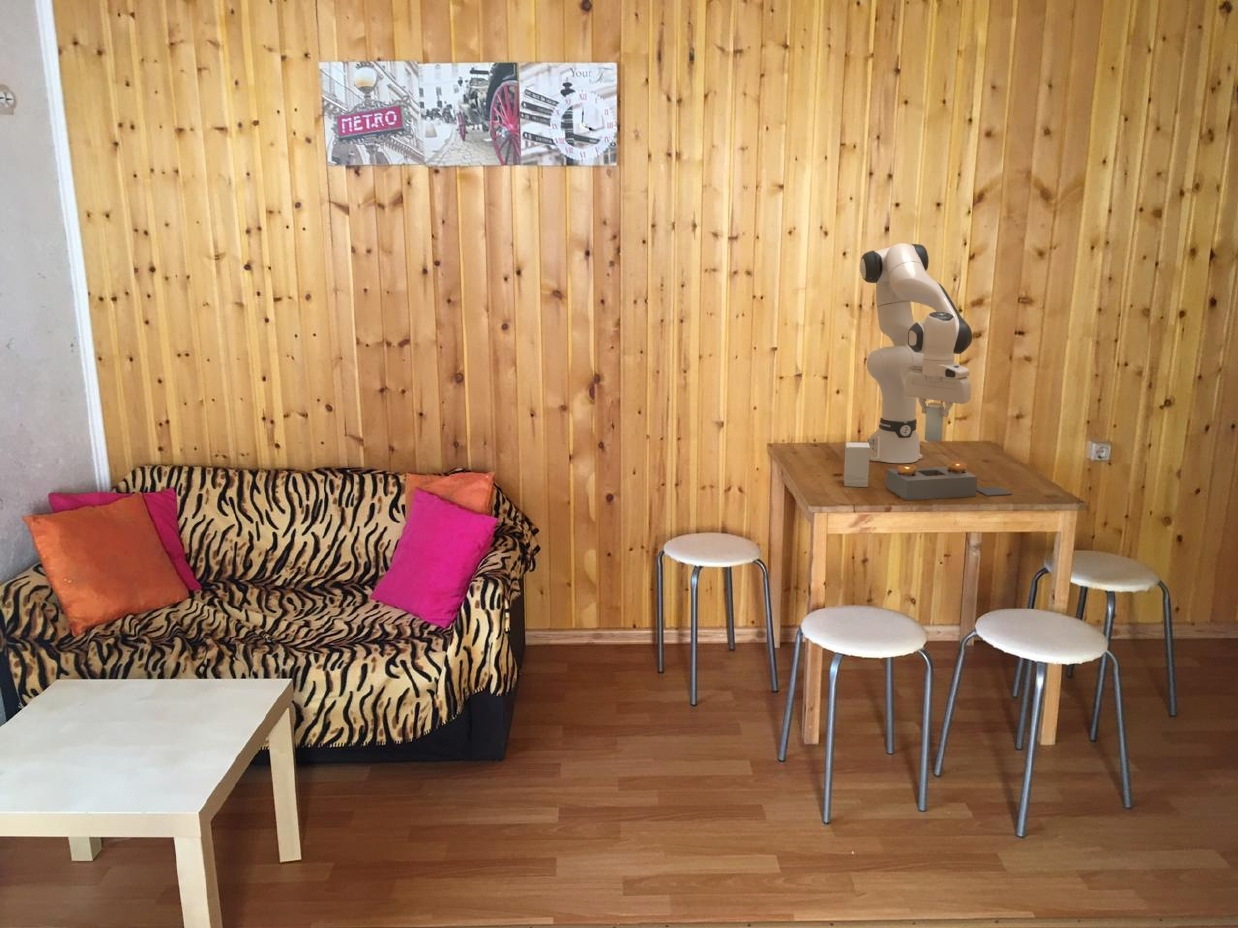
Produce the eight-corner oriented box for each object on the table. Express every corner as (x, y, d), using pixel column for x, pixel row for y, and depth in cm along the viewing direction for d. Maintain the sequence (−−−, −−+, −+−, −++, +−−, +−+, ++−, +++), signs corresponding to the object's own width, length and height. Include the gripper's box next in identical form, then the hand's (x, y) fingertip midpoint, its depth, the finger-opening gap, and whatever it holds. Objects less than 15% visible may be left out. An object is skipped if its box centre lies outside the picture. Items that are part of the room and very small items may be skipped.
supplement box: (868, 487, 312) (870, 447, 309) (843, 486, 313) (845, 446, 310) (867, 481, 319) (869, 442, 316) (843, 480, 320) (845, 441, 317)
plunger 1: (893, 488, 306) (895, 464, 304) (910, 487, 307) (911, 463, 305) (901, 493, 301) (902, 468, 299) (917, 492, 302) (919, 467, 300)
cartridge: (921, 440, 302) (923, 403, 299) (930, 437, 305) (932, 401, 302) (936, 442, 298) (938, 406, 295) (945, 440, 301) (947, 403, 299)
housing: (886, 488, 310) (887, 469, 309) (953, 484, 314) (954, 465, 312) (906, 500, 297) (907, 480, 295) (976, 496, 300) (977, 476, 299)
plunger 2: (943, 485, 308) (944, 461, 307) (959, 484, 309) (960, 460, 307) (951, 489, 303) (953, 465, 302) (967, 488, 304) (969, 464, 302)
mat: (973, 489, 307) (973, 488, 307) (998, 488, 309) (998, 486, 308) (987, 496, 300) (987, 495, 300) (1012, 494, 301) (1012, 493, 301)
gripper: (900, 366, 302) (898, 411, 305) (963, 373, 287) (960, 421, 290) (912, 363, 306) (909, 408, 309) (975, 371, 291) (971, 418, 294)
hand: (934, 414), depth 300 cm, fingers closed on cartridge, 5 cm apart
